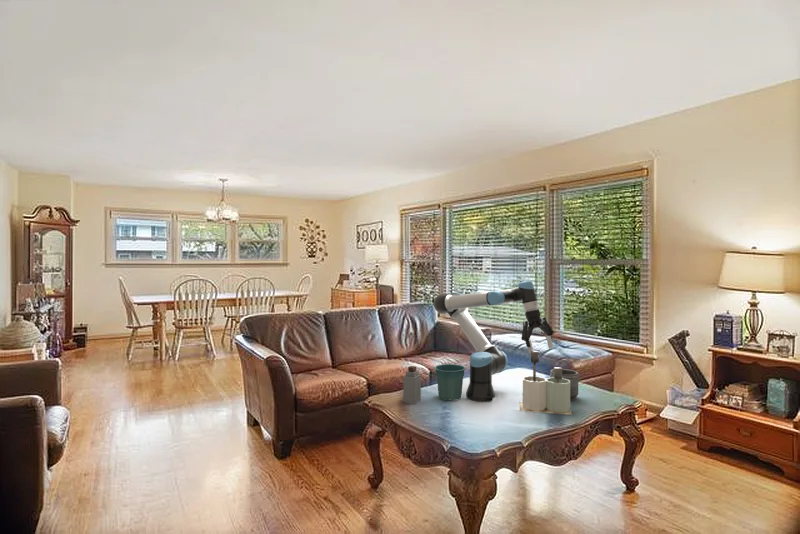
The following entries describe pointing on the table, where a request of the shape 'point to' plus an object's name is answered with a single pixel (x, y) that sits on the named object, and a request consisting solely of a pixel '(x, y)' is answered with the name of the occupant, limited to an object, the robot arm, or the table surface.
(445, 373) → the flower pot
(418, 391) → the perfume bottle
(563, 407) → the sage press
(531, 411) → the board
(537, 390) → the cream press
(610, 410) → the table surface
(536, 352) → the press plunger
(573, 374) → the planter
